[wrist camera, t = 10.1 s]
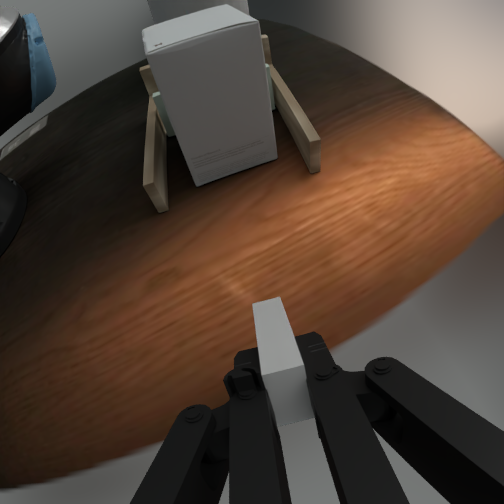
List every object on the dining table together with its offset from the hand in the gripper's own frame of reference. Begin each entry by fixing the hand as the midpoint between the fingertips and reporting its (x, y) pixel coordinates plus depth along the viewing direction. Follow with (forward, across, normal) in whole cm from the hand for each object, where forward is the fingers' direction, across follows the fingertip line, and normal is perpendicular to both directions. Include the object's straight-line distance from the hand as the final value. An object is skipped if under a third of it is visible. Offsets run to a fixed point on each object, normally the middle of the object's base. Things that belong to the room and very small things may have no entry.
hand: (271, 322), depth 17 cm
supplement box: (+20, 0, +11) cm, 23 cm away
